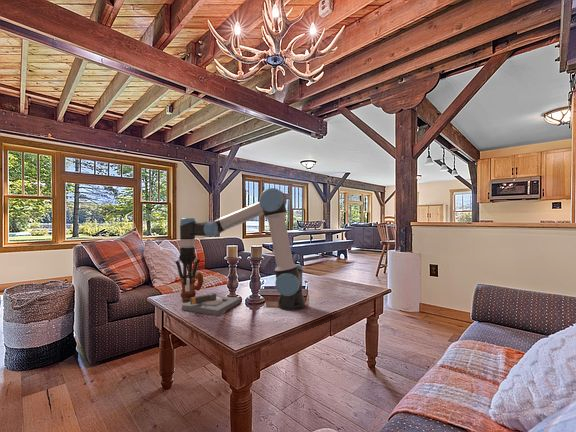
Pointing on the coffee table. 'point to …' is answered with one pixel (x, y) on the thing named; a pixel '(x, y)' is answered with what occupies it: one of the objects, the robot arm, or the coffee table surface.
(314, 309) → the coffee table surface
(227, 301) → the dial plate
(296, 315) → the coffee table surface
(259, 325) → the coffee table surface
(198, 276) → the mug
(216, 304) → the dial
